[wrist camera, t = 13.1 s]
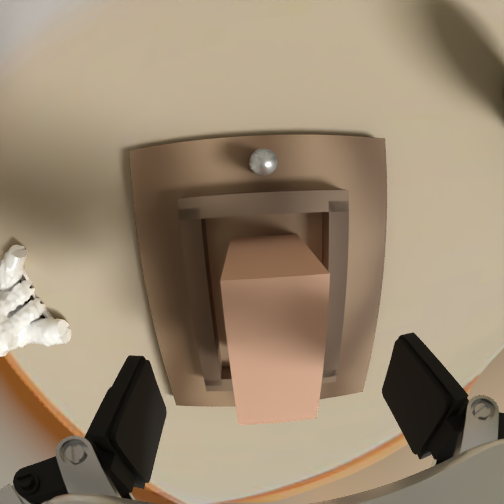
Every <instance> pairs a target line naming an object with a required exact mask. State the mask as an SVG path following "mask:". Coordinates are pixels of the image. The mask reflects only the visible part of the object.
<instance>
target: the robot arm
mask: <svg viewBox="0 0 504 504" xmlns="http://www.w3.org/2000/svg"><path fill="white" fill-rule="evenodd" d="M382 394H383V397H384V399H385V401H386V402H387V404H388V406H389V408H390V410H391V412H392V413H393V415H394V417H395V419H396V421H397V423H398V425H399V427H400V429H401V430H402V432H403V434H404V436H405V438H406V440H407V442H408V444H409V446H410V448H411V450H412V452H413V453H414V454H417V455H418V457H419V459H423V458H425V457H427V456H429V455H431V454H432V456H433V458H434V459H433V463H432V466H431V468H429V469H426V470H424V471H421V472H419V473H417V474H414V475H412V476H409V477H407V478H404V479H402V480H399V481H396V482H393V483H391V484H388V485H384V486H381V487H378V488H375V489H372V490H368V491H365V492H361V493H358V494H354V495H350V496H346V497H342V498H337V499H333V500H328V501H323V502H317V503H311V504H504V413H499V410H498V406H497V404H496V402H495V401H494V400H493V399H491V398H490V397H487V396H484V395H483V396H482V395H481V396H480V395H479V396H475V397H473V398H472V399H471V400H470V401H469V400H468V399H467V397H468V394H467V393H466V392H465V391H464V389H463V388H462V387H461V386H460V385H459V383H458V382H457V381H456V380H455V379H454V377H453V376H452V375H451V374H450V373H449V372H448V370H447V369H446V368H445V367H444V366H443V365H442V363H441V362H440V361H439V360H438V359H437V358H436V357H435V355H434V354H433V353H432V352H431V351H430V350H429V349H428V348H427V346H426V345H425V344H424V343H423V342H422V341H421V340H420V339H419V338H418V337H417V335H416V334H414V333H409V334H405V335H401V336H400V337H399V338H398V340H396V341H395V344H394V348H393V352H392V356H391V360H390V364H389V367H388V371H387V375H386V378H385V381H384V385H383V388H382ZM165 418H166V407H165V404H164V401H163V399H162V396H161V393H160V390H159V388H158V385H157V382H156V379H155V376H154V373H153V370H152V367H151V364H150V362H149V360H146V359H145V358H144V357H143V356H128V357H127V359H126V361H125V363H124V365H123V367H122V368H121V370H120V372H119V374H118V376H117V378H116V380H115V382H114V384H113V385H112V387H111V388H109V390H108V391H107V393H106V395H105V397H104V399H103V401H102V403H101V405H100V407H99V409H98V411H97V413H96V415H95V417H94V419H93V421H92V423H91V425H90V427H89V429H88V431H87V433H86V436H85V438H83V437H81V436H70V437H67V438H65V439H63V440H62V441H61V442H60V443H59V444H58V446H57V448H56V456H55V457H53V458H50V459H47V460H45V461H42V462H39V463H36V464H33V465H30V466H27V467H24V468H22V469H20V470H19V471H17V472H16V474H15V476H14V480H13V484H14V485H10V484H8V485H6V486H5V487H3V488H2V489H0V504H153V503H148V502H142V501H137V500H135V499H134V497H133V495H132V494H131V492H132V490H133V487H138V488H143V489H144V486H145V482H146V483H148V482H149V481H150V478H151V474H152V470H153V465H154V461H155V457H156V453H157V449H158V445H159V441H160V437H161V433H162V429H163V426H164V422H165Z"/></svg>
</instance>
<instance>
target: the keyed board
mask: <svg viewBox="0 0 504 504" xmlns="http://www.w3.org/2000/svg"><path fill="white" fill-rule="evenodd" d="M129 154H130V171H131V184H132V195H133V205H134V214H135V223H136V230H137V238H138V245H139V251H140V258H141V264H142V269H143V275H144V281H145V286H146V291H147V296H148V301H149V306H150V310H151V315H152V319H153V323H154V328H155V332H156V336H157V340H158V344H159V348H160V352H161V355H162V359H163V363H164V366H165V370H166V373H167V376H168V380H169V383H170V386H171V390H172V393H173V396H174V399H175V402H176V405H181V406H236V405H235V398H234V391H233V384H232V376H231V369H230V361H229V353H228V345H227V337H226V329H225V320H224V311H223V302H222V293H221V283H220V280H221V275H222V271H223V267H224V263H225V259H226V255H227V251H228V247H229V243H230V239H231V238H242V237H258V236H276V235H294V234H297V235H298V236H299V237H300V238H301V239H302V240H303V242H304V243H305V244H306V245H307V246H308V248H309V249H310V250H311V251H312V252H313V254H314V255H315V256H316V257H317V258H318V260H319V261H320V262H321V263H322V264H323V266H324V267H325V268H326V269H327V270H328V272H329V273H330V285H329V305H328V321H327V334H326V346H325V356H324V366H323V375H322V384H321V392H320V399H324V398H330V397H336V396H342V395H348V394H353V393H358V392H363V389H364V385H365V380H366V376H367V372H368V367H369V363H370V358H371V353H372V348H373V342H374V337H375V331H376V325H377V318H378V312H379V305H380V297H381V289H382V279H383V269H384V257H385V242H386V220H387V170H386V148H385V139H384V138H372V137H359V136H342V135H257V136H239V137H225V138H214V139H203V140H194V141H186V142H178V143H171V144H164V145H157V146H151V147H145V148H139V149H134V150H129Z"/></svg>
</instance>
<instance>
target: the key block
mask: <svg viewBox="0 0 504 504" xmlns="http://www.w3.org/2000/svg"><path fill="white" fill-rule="evenodd" d="M220 283H221V293H222V302H223V311H224V320H225V329H226V337H227V345H228V353H229V361H230V369H231V376H232V384H233V391H234V398H235V405H236V411H237V418H238V425H247V424H266V423H279V422H290V421H299V420H307V419H314V418H317V414H318V407H319V399H320V392H321V384H322V375H323V366H324V356H325V346H326V334H327V321H328V305H329V285H330V273H329V272H328V270H327V269H326V268H325V267H324V266H323V264H322V263H321V262H320V261H319V260H318V258H317V257H316V256H315V255H314V254H313V252H312V251H311V250H310V249H309V248H308V246H307V245H306V244H305V243H304V242H303V240H302V239H301V238H300V237H299V236H298V235H297V234H294V235H276V236H258V237H242V238H231V239H230V243H229V247H228V251H227V255H226V259H225V263H224V267H223V271H222V275H221V280H220Z"/></svg>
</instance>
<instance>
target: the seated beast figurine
mask: <svg viewBox="0 0 504 504" xmlns="http://www.w3.org/2000/svg"><path fill="white" fill-rule="evenodd" d="M27 252H28V250H25V247H24V246H21V245H13V246H12V247H11V248H10V249H9V250H8V252H7V253H5V255H4V258H3V260H1V264H0V356H1V357H2V356H5V355H6V354H7V352H9V350H13V349H16V348H17V347H21V348H22V347H24V346H26V344H29V343H37V344H43V345H45V346H50V345H56V344H66V343H68V342H69V340H70V338H71V330H70V328H69V327H68V326H69V324H68V323H67V322H66V321H65V320H63V319H54V318H53V317H52V315H51V314H50V313H49V311H48V310H47V309H46V307H45V305H44V304H40V301H41V299H40V298H36V296H35V294H34V291H35V288H34V287H33V288H30V286H31V285H32V284H33V283H32V282H31V281H30V280H29V278H28V276H27V274H26V272H25V270H24V263H25V260H26V257H27ZM22 274H23V275H24V277H25V279H26V280H23V279H22ZM20 281H21V283H20ZM31 295H32V296H33V298H34V300H30V301H29V302H28V303H27V304H26V303H25V301H28V299H29V298H30V296H31ZM41 315H44V316H45V318H44V319H43V318H40V316H41Z"/></svg>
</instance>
